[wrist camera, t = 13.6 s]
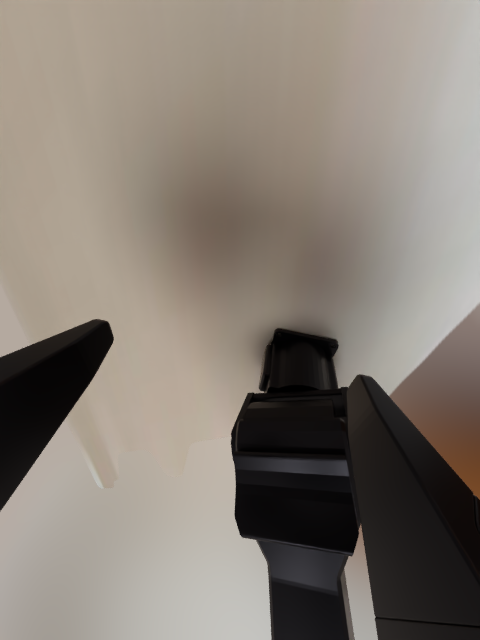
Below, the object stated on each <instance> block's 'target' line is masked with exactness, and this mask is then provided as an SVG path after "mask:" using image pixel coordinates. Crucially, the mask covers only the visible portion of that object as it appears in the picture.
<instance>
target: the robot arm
mask: <svg viewBox="0 0 480 640" xmlns="http://www.w3.org/2000/svg"><path fill="white" fill-rule="evenodd" d="M278 333H280V335H279V334H278ZM113 340H114V337H113V334H112V330H111V327H110V324H109V323H108V322H107V321H104V320H100V319H94V320H92V321H89V322H87V323H84V324H82V325H79V326H77V327H74V328H72V329H69V330H67V331H65V332H62V333H60V334H57V335H55V336H52V337H50V338H47V339H45V340H42V341H40V342H37V343H35V344H32V345H30V346H27V347H25V348H22V349H20V350H18V351H15V352H13V353H10V354H8V355H5V356H3V357H0V510H2V508H3V507H4V506H5V504H6V503H7V501H8V500H9V498H10V497H11V495H12V494H13V493H14V491H15V490H16V488H17V487H18V485H19V484H20V483H21V481H22V480H23V478H24V477H25V475H26V474H27V473H28V471H29V470H30V468H31V467H32V465H33V464H34V463H35V461H36V460H37V458H38V457H39V455H40V454H41V452H42V451H43V450H44V448H45V447H46V445H47V444H48V442H49V441H50V440H51V438H52V437H53V435H54V434H55V432H56V431H57V429H58V428H59V427H60V425H61V424H62V422H63V421H64V420H65V418H66V417H67V415H68V414H69V412H70V411H71V410H72V408H73V407H74V405H75V404H76V402H77V401H78V400H79V398H80V397H81V395H82V394H83V392H84V391H85V389H86V388H87V387H88V385H89V384H90V382H91V381H92V379H93V378H94V376H95V374H96V373H97V371H98V369H99V367H100V365H101V363H102V362H103V360H104V358H105V356H106V354H107V353H108V351H109V349H110V347H111V345H112V343H113ZM338 347H339V345H338V342H337V341H336V340H332V339H327V338H322V337H317V336H312V335H307V334H302V333H297V332H292V331H287V330H282V329H276V330H275V332H274V335H273V339H272V342H271V345H270V344H268V345H267V346H266V350H265V354H264V357H263V362H262V369H261V376H260V383H259V389H260V391H264V393H256V394H254V393H248V394H247V397H246V399H245V401H244V403H243V406H242V408H241V410H240V413H239V415H238V417H237V420H236V422H235V424H234V427H233V429H232V432H231V437H232V439H231V447H232V456H233V461H234V464H235V473H236V474H235V475H236V498H235V519H236V522H237V526H238V529H239V532H240V535H241V536H242V537H243V538H249V539H255V540H257V543H258V545H259V547H260V549H261V551H262V553H263V555H264V557H265V559H266V561H267V564H268V573H269V574H268V575H269V594H270V614H271V635H272V640H355V639H354V633H353V626H352V619H351V612H350V606H349V598H348V591H347V585H346V578H345V571H344V567H345V564H346V562H347V559H348V556H352V555H353V553H354V550H355V546H356V543H357V539H358V535H359V531H358V530H359V527H360V525H361V526H362V532H363V540H364V546H365V553H366V559H367V566H368V573H369V580H370V587H371V593H372V600H373V606H374V614H375V616H376V618H375V621H376V628H377V635H378V640H480V500H479V499H478V497H477V496H475V495H473V492H472V491H471V490H470V489H469V487H468V486H467V485H466V484H465V483H464V482H463V481H462V479H461V478H460V477H459V476H458V475H457V474H456V472H455V471H454V470H453V469H452V468H451V467H450V466H449V465H448V464H447V462H446V461H445V460H444V459H443V458H442V457H441V455H440V454H439V453H438V452H437V451H436V450H435V448H434V447H433V446H432V445H431V444H430V443H429V442H428V441H427V439H426V438H425V437H424V436H423V435H422V434H421V433H420V431H419V430H418V429H417V428H416V427H415V426H414V424H413V423H412V422H411V421H410V420H409V419H408V418H407V416H406V415H405V414H404V413H403V412H402V411H401V410H400V409H399V407H398V406H397V405H396V404H395V403H394V402H393V400H392V399H391V398H390V397H389V396H388V395H387V394H386V392H385V391H384V390H383V389H382V388H381V387H380V386H379V384H378V383H377V382H376V381H375V380H374V379H373V378H372V377H370V376H366V375H361V374H359V375H357V376H356V378H355V379H354V380H353V382H352V383H351V385H350V386H349V388H348V387H341V388H339V389H338V384H337V378H336V373H335V367H334V362H333V356H334V354H335V353H336V351H337V349H338Z"/></svg>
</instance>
